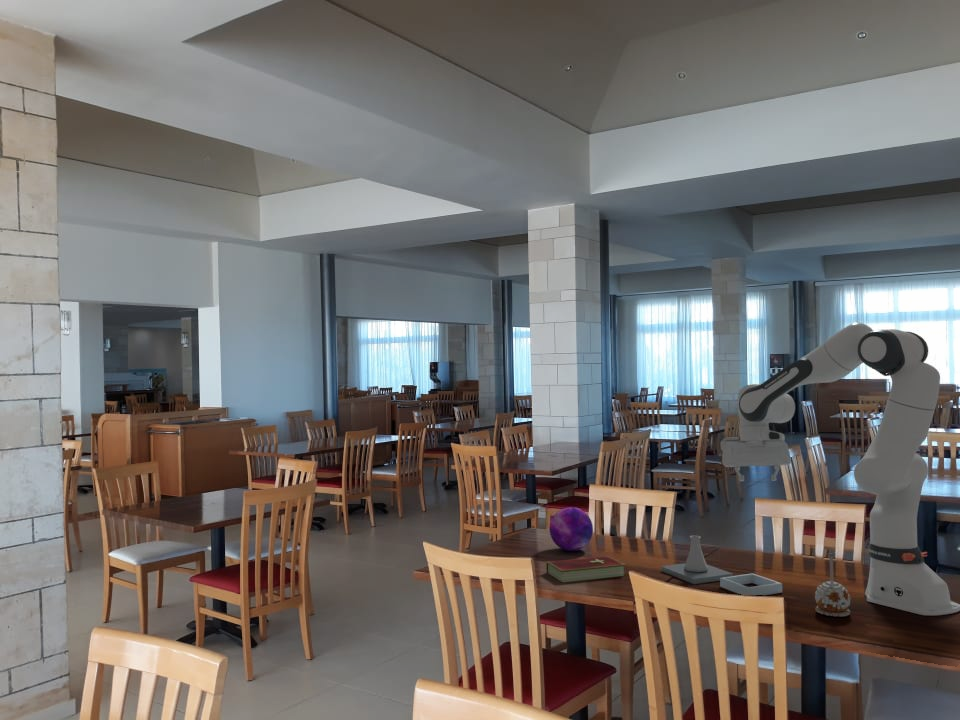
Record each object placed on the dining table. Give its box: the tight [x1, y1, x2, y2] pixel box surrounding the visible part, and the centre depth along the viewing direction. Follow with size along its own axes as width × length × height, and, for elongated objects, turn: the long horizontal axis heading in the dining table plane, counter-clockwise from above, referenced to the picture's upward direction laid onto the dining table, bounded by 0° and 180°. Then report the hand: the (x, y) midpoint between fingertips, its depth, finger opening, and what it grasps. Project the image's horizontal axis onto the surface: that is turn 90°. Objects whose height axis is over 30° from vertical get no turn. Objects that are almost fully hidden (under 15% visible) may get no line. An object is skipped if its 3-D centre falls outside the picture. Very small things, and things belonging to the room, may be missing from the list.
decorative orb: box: [549, 506, 594, 552], centre depth 262 cm, size 15×15×15 cm
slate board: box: [660, 562, 734, 585], centre depth 227 cm, size 16×14×2 cm
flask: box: [684, 535, 708, 572], centre depth 227 cm, size 7×7×10 cm
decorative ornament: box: [814, 553, 851, 618], centre depth 189 cm, size 8×8×15 cm
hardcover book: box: [545, 555, 627, 583], centre depth 230 cm, size 12×21×4 cm, turn 107°
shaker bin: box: [719, 573, 783, 596], centre depth 211 cm, size 12×12×2 cm
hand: (757, 480), depth 233 cm, fingers open, 8 cm apart
